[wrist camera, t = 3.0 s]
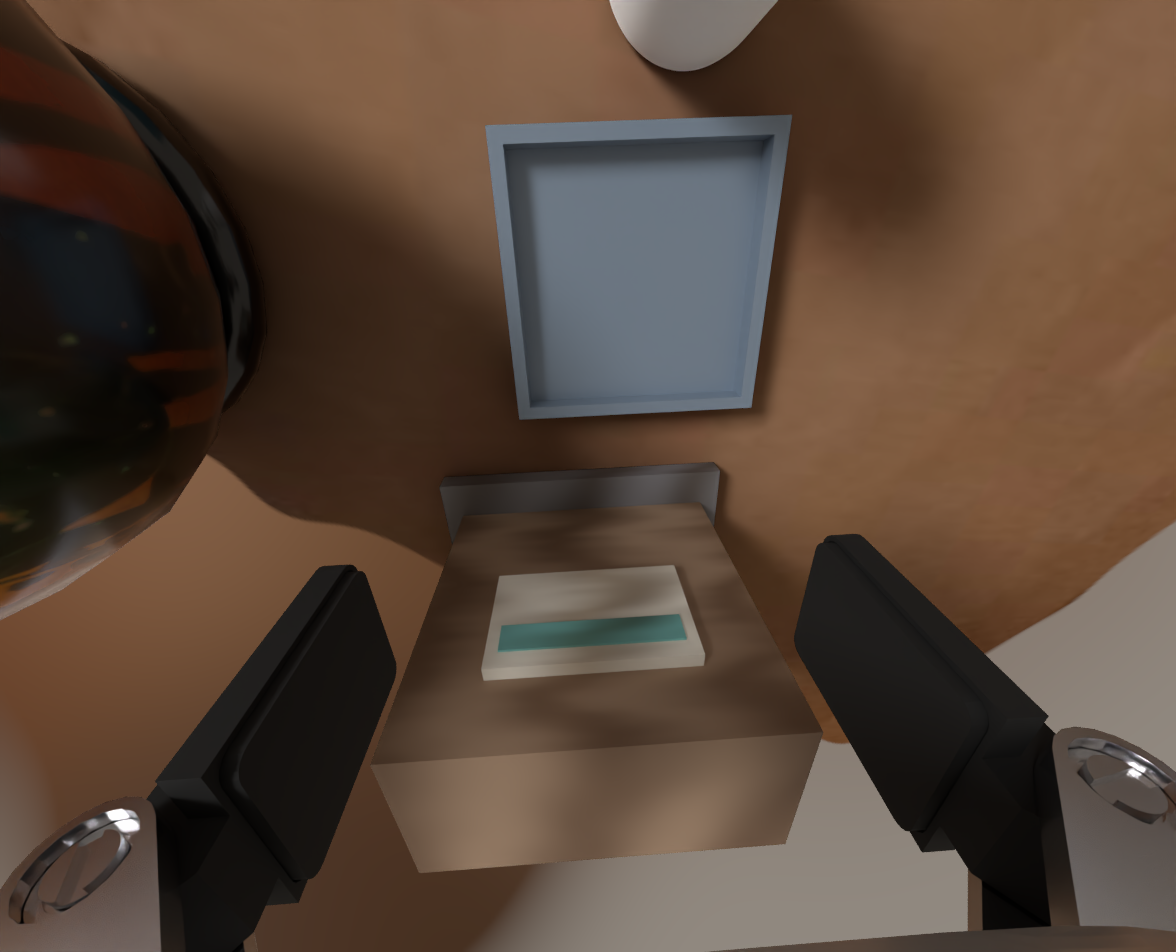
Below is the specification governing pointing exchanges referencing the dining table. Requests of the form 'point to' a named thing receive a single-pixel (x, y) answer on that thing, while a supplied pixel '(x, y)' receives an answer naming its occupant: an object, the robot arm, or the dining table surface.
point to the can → (687, 28)
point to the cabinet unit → (591, 681)
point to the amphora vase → (105, 311)
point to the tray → (636, 260)
